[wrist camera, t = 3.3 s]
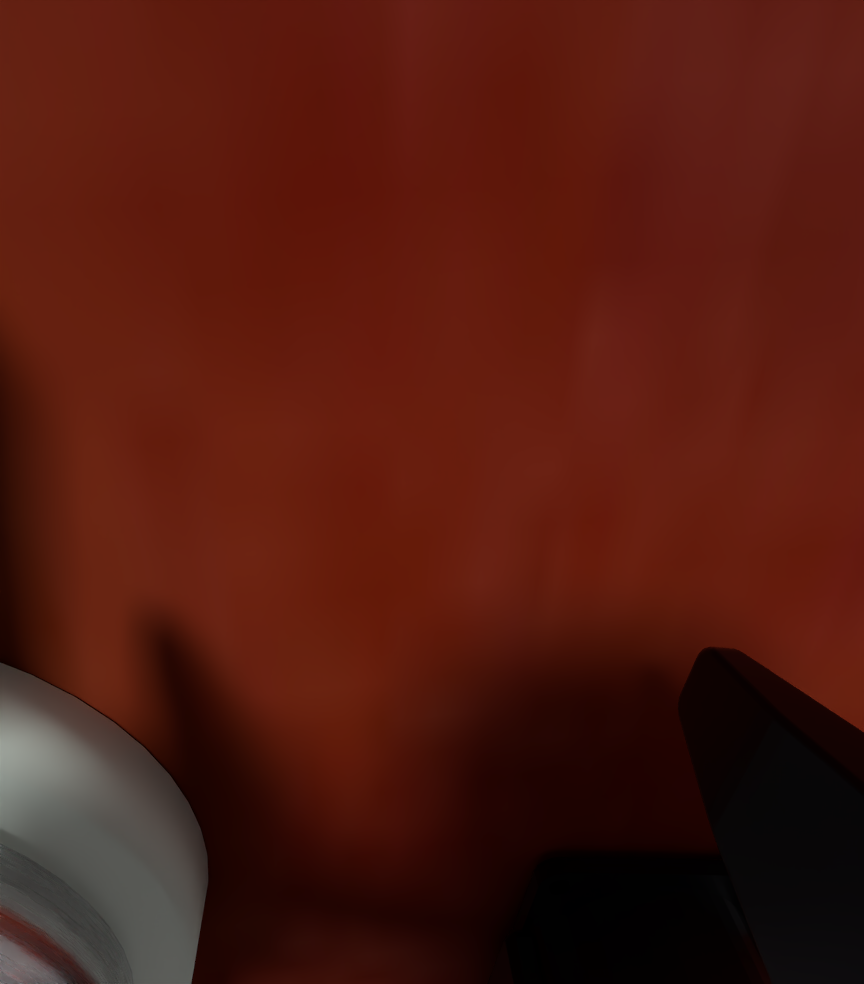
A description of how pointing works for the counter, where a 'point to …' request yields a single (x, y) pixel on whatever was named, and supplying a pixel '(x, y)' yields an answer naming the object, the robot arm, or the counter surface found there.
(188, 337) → the counter surface
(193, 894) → the nut base
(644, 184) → the counter surface
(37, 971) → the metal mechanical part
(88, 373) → the counter surface
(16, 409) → the counter surface
